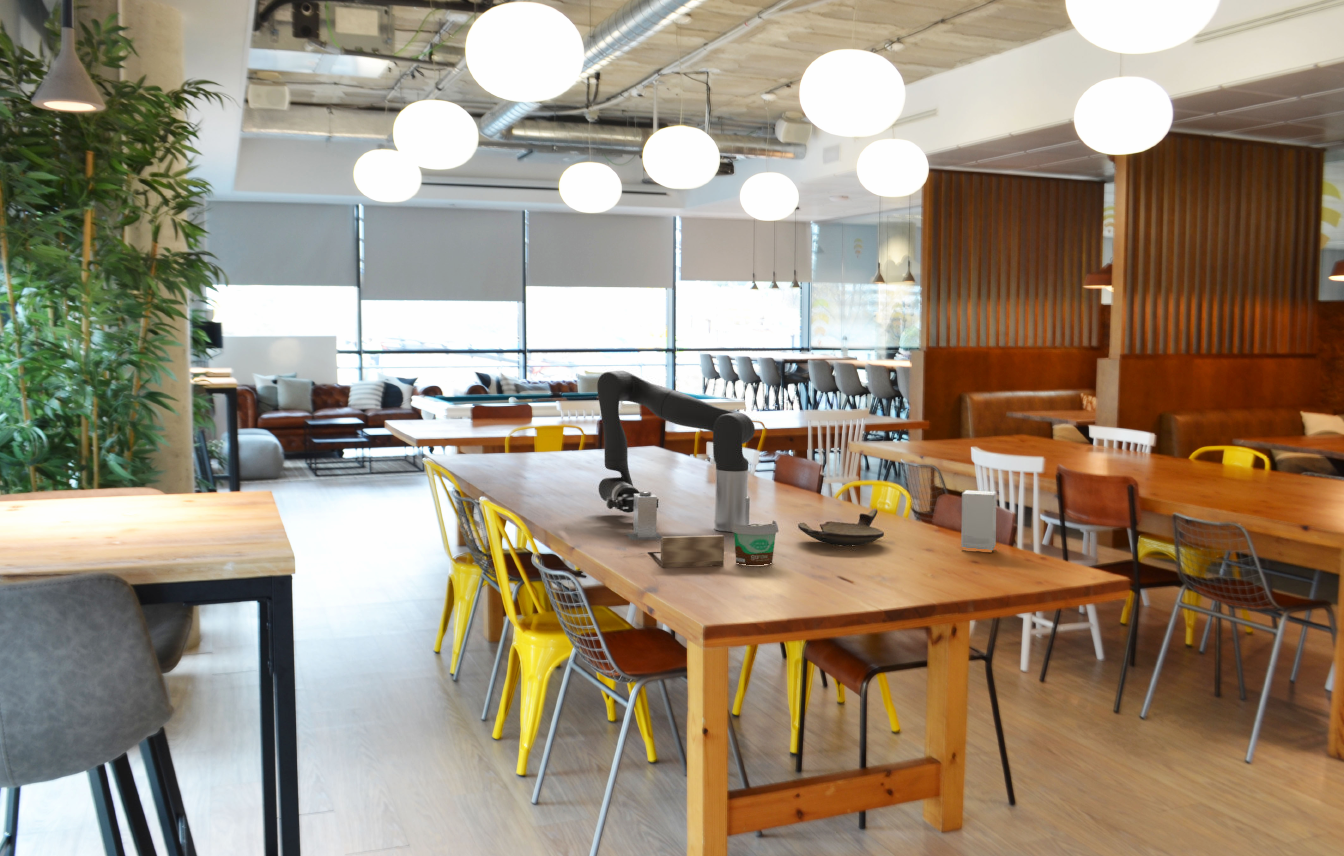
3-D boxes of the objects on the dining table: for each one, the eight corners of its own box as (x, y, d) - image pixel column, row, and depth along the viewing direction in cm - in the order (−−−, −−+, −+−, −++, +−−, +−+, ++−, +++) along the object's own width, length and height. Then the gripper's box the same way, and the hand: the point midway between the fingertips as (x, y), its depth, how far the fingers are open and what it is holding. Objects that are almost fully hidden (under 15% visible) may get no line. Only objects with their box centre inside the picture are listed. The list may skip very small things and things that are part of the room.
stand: (657, 538, 285) (657, 532, 284) (664, 544, 276) (664, 538, 276) (624, 538, 282) (624, 533, 282) (631, 545, 274) (631, 539, 274)
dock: (703, 549, 271) (703, 521, 270) (723, 565, 252) (724, 536, 251) (646, 551, 267) (646, 523, 266) (662, 567, 249) (663, 537, 248)
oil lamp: (778, 541, 284) (779, 513, 283) (865, 532, 299) (865, 506, 298) (829, 557, 265) (831, 527, 264) (919, 547, 280) (920, 518, 279)
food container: (744, 569, 249) (745, 527, 248) (730, 564, 254) (731, 523, 253) (787, 565, 254) (788, 524, 253) (773, 560, 260) (774, 520, 259)
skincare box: (995, 549, 278) (998, 491, 276) (992, 554, 272) (995, 494, 270) (963, 546, 281) (966, 489, 280) (959, 550, 275) (961, 492, 274)
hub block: (651, 533, 283) (652, 490, 281) (656, 538, 277) (656, 493, 276) (633, 534, 281) (633, 490, 280) (637, 538, 276) (638, 494, 274)
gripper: (602, 484, 302) (611, 493, 287) (650, 484, 306) (662, 492, 290) (601, 510, 303) (611, 520, 287) (649, 509, 306) (661, 519, 291)
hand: (637, 506), depth 289 cm, fingers open, 8 cm apart
